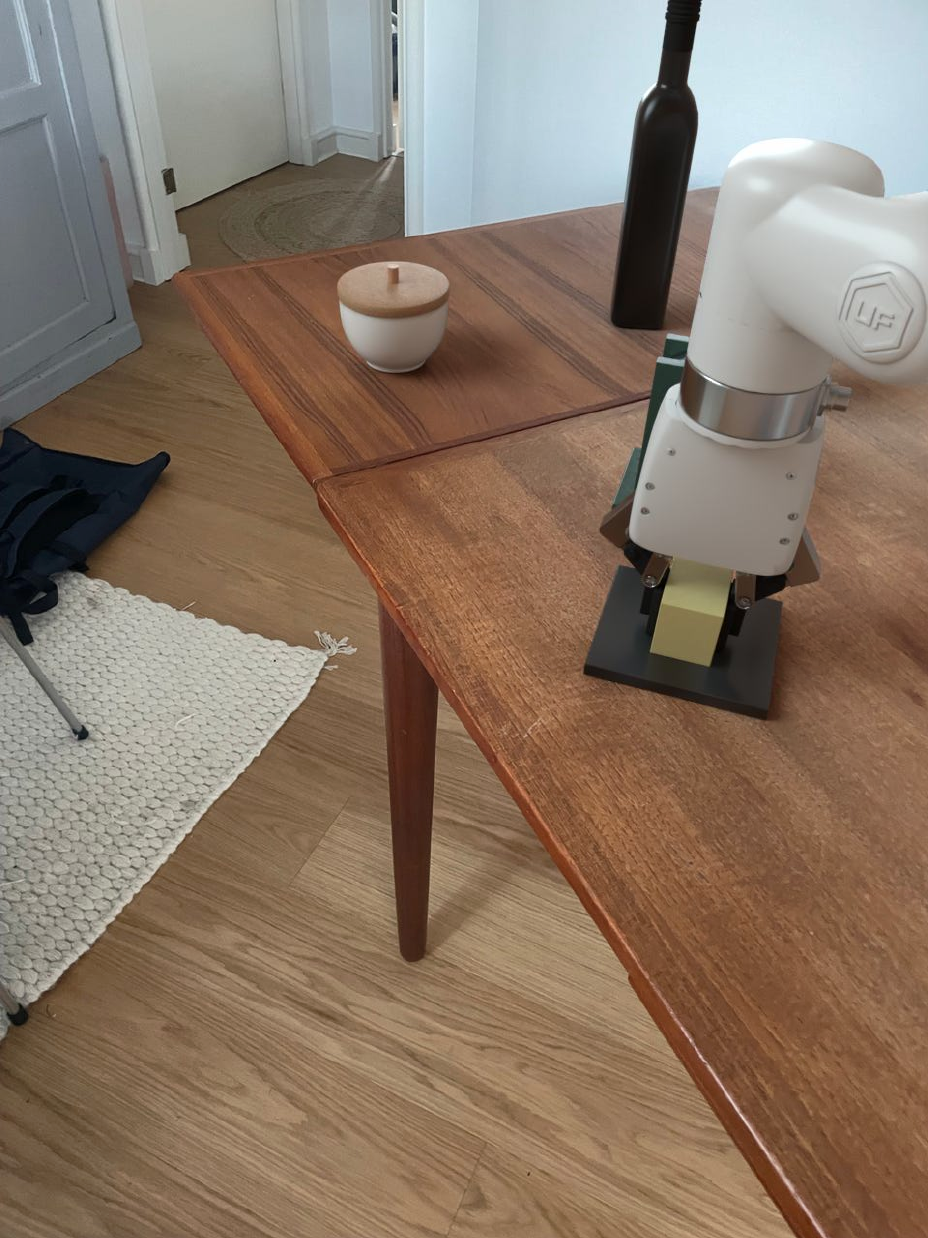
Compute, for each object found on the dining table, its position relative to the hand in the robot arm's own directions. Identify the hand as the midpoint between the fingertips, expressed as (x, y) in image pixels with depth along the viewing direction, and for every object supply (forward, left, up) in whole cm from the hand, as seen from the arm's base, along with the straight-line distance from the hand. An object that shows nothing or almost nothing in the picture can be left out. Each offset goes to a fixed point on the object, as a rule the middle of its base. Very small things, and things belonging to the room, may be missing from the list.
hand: (687, 627), depth 64 cm
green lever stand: (+4, -17, -1) cm, 18 cm away
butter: (0, 0, 0) cm, 0 cm away
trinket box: (+34, -31, -1) cm, 46 cm away
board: (0, 0, -1) cm, 1 cm away
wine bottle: (+13, -49, -1) cm, 51 cm away
